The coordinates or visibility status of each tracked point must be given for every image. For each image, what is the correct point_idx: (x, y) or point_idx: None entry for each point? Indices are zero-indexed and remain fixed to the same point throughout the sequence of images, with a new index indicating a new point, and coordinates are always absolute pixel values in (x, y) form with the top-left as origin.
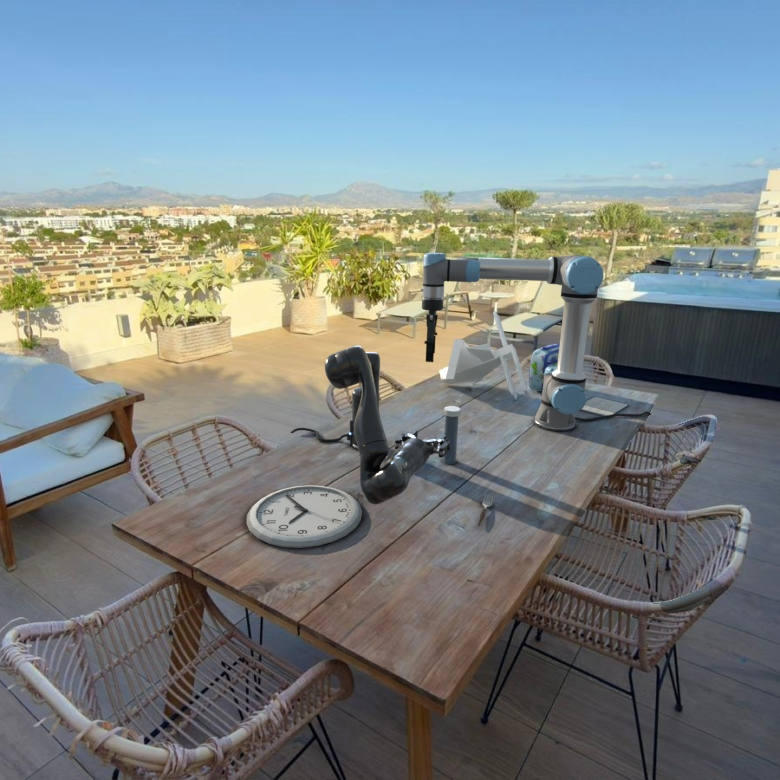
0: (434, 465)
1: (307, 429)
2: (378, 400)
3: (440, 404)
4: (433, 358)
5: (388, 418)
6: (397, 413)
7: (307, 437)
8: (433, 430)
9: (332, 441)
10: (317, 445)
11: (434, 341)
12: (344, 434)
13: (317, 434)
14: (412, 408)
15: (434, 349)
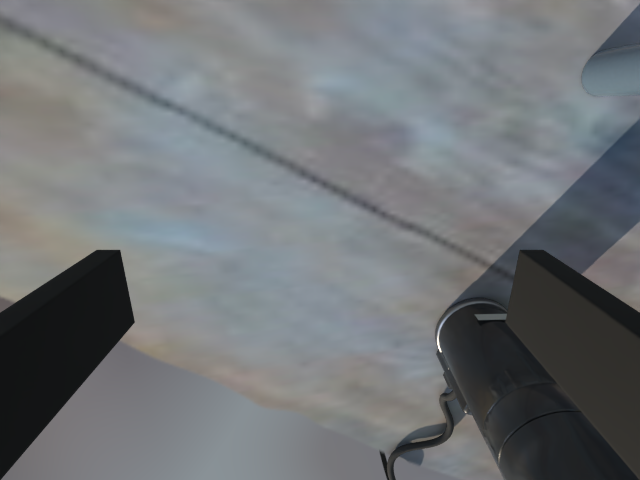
0: (626, 124)
1: (393, 473)
2: (579, 409)
3: (23, 121)
4: (556, 266)
5: (243, 297)
6: (186, 275)
7: (423, 459)
8: (327, 140)
9: (447, 406)
10: (472, 431)
11: (14, 342)
12: (455, 397)
13: (422, 447)
14: (116, 230)
15: (95, 274)
